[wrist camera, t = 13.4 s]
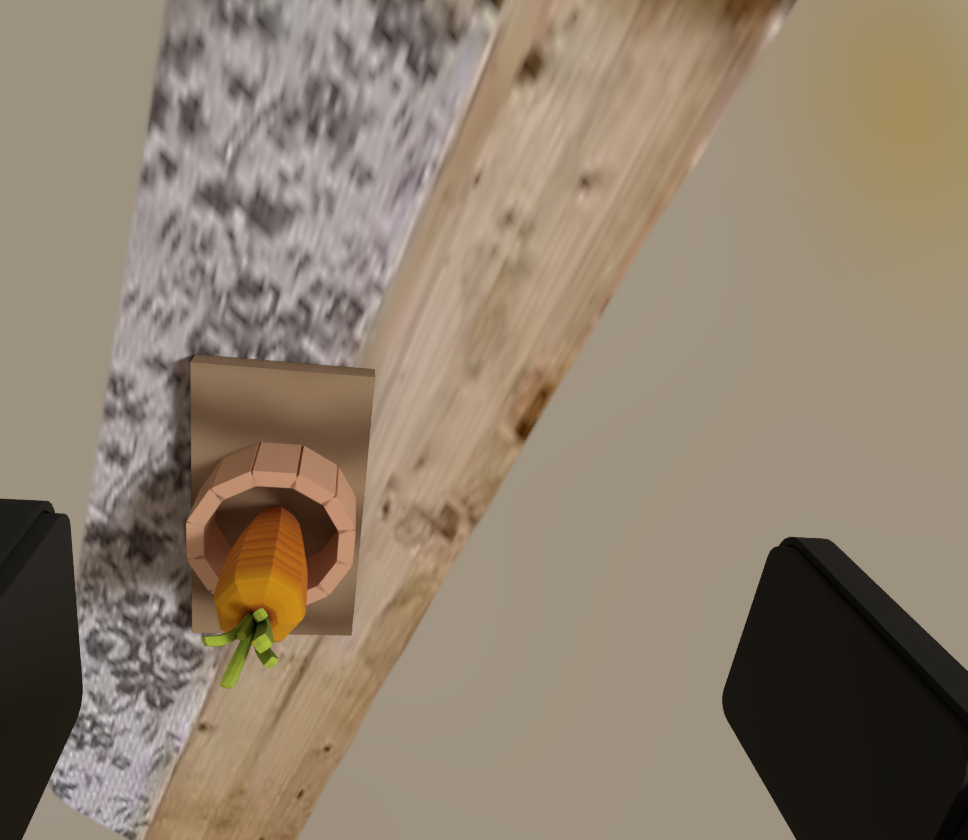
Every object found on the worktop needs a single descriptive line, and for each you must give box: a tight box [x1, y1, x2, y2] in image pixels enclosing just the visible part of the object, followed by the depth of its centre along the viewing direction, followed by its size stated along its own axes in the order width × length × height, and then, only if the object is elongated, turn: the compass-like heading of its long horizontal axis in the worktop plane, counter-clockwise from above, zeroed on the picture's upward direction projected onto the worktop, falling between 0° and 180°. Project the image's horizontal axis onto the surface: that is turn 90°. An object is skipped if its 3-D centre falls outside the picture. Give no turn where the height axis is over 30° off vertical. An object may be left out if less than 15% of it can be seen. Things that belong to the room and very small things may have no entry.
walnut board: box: [190, 354, 375, 635], centre depth 51 cm, size 20×11×2 cm, turn 172°
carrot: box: [202, 506, 308, 688], centre depth 43 cm, size 5×5×15 cm
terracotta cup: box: [186, 442, 356, 605], centre depth 48 cm, size 10×10×4 cm
